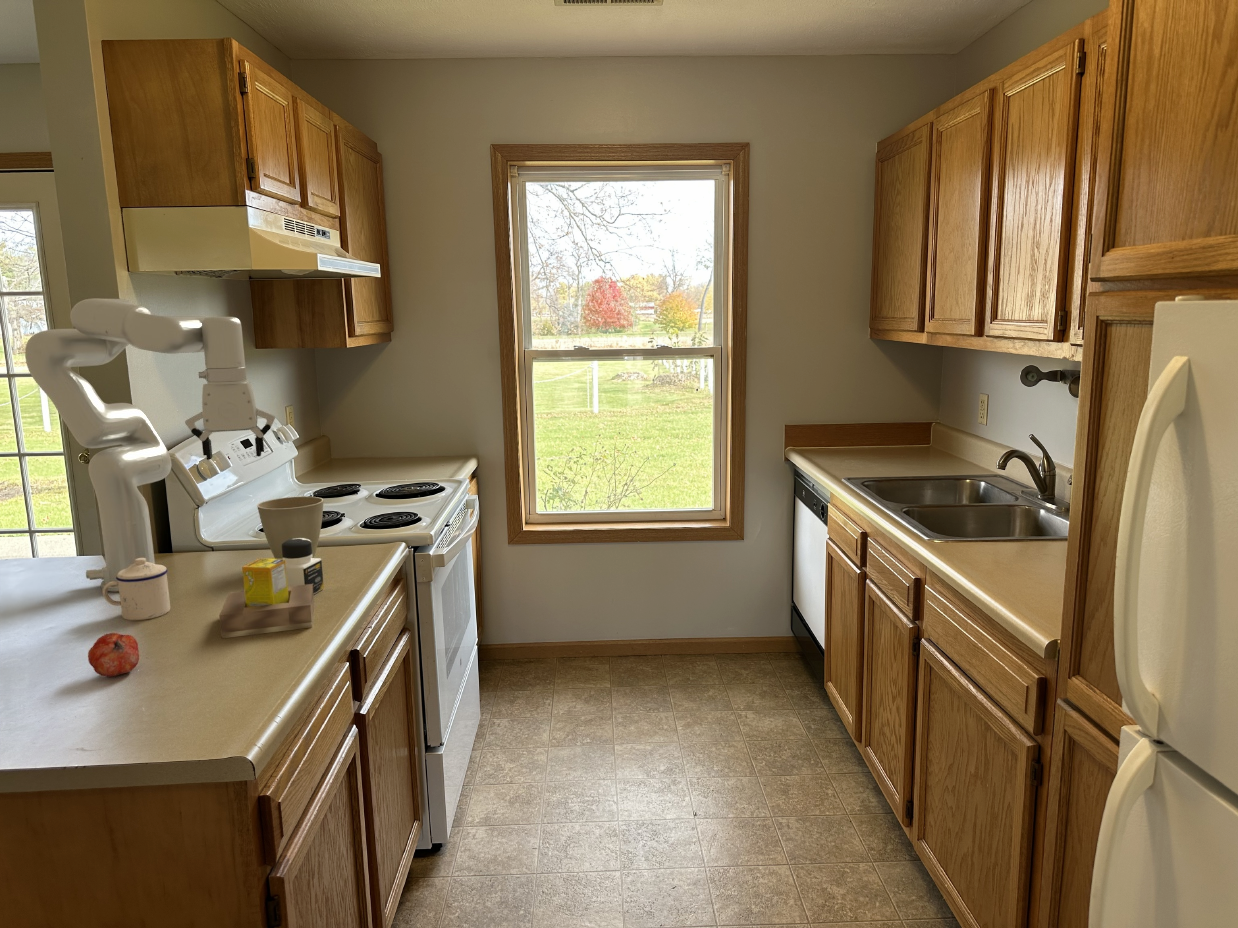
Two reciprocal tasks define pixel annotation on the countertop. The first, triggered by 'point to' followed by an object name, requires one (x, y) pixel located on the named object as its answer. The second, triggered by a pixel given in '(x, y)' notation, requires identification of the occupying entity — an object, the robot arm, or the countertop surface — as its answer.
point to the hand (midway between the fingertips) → (234, 457)
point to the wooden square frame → (267, 613)
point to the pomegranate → (114, 654)
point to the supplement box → (265, 582)
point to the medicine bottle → (302, 564)
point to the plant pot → (291, 521)
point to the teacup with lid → (141, 591)
